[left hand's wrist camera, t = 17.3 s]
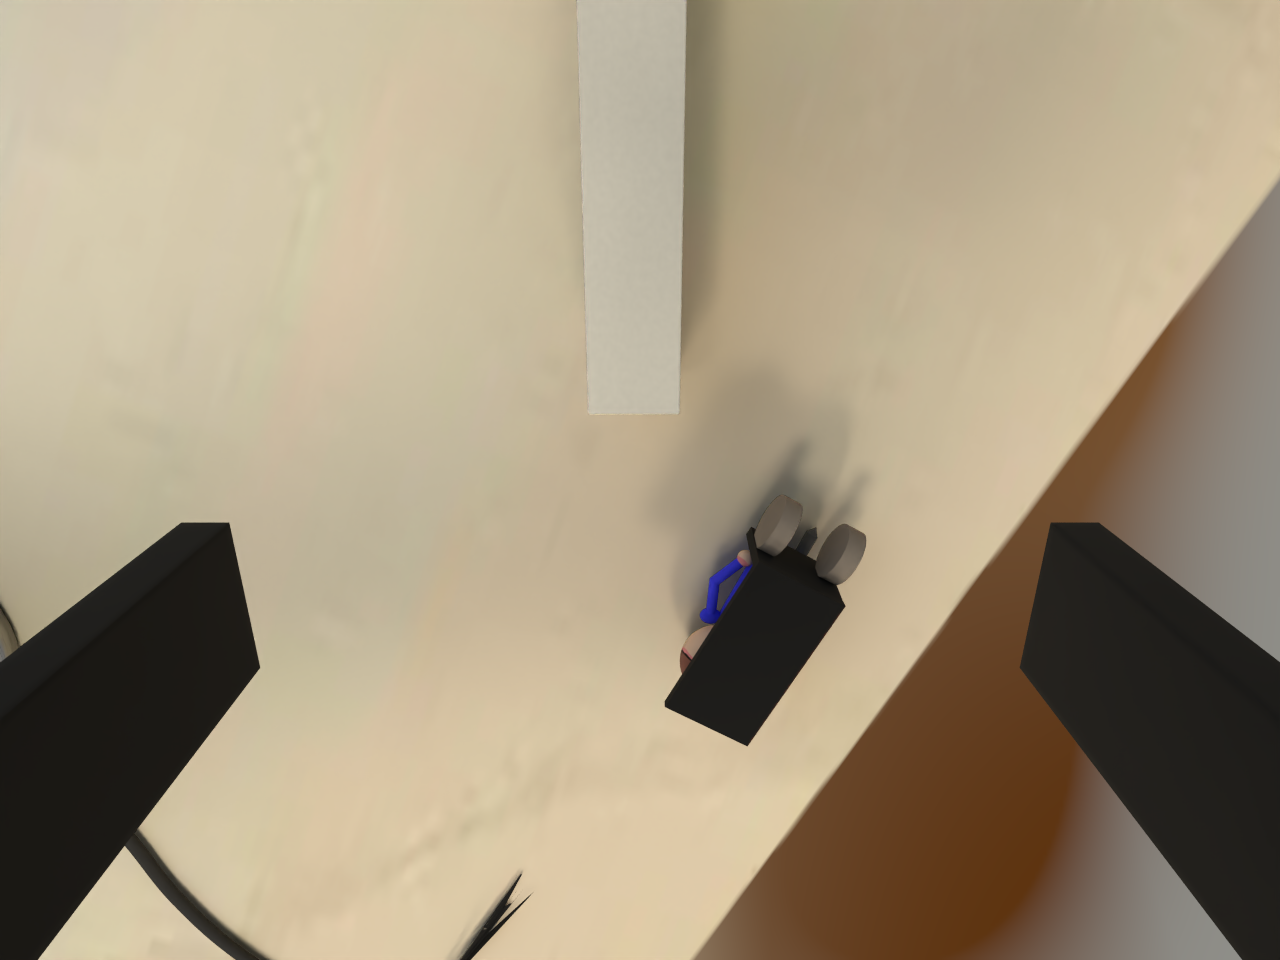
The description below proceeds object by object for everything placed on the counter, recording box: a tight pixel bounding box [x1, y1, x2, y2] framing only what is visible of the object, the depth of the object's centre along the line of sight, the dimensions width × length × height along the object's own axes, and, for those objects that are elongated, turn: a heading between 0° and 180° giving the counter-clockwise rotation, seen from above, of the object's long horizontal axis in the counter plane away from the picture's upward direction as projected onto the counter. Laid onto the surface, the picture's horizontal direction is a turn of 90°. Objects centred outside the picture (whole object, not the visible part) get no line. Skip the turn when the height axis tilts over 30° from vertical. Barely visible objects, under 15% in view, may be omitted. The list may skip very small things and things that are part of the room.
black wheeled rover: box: [665, 495, 866, 746], centre depth 50 cm, size 7×8×15 cm
